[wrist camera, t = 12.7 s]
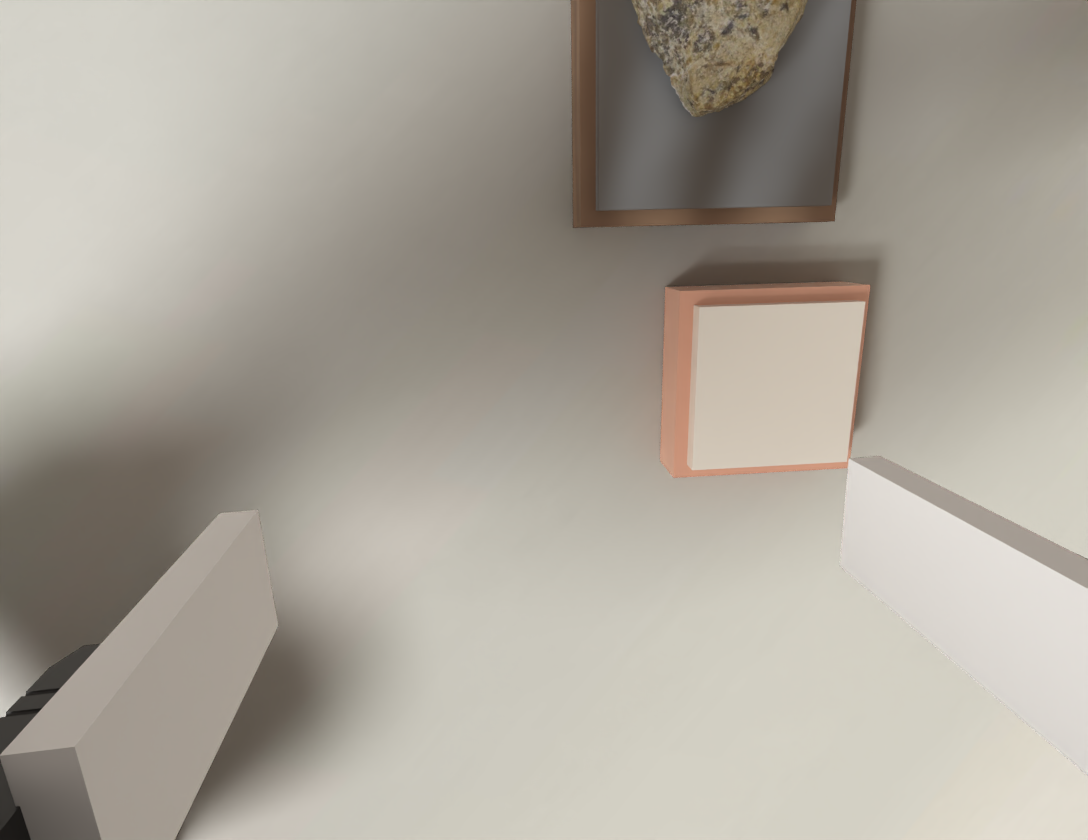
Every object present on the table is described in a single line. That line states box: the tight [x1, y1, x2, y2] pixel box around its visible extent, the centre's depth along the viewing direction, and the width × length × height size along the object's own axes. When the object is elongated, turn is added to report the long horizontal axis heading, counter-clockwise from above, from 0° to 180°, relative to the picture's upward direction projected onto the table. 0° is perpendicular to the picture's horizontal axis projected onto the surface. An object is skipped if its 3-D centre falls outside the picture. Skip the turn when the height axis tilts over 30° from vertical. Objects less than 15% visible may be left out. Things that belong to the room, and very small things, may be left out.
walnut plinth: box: [571, 0, 856, 228], centre depth 33 cm, size 14×14×4 cm
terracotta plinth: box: [660, 281, 870, 478], centre depth 38 cm, size 11×11×4 cm
